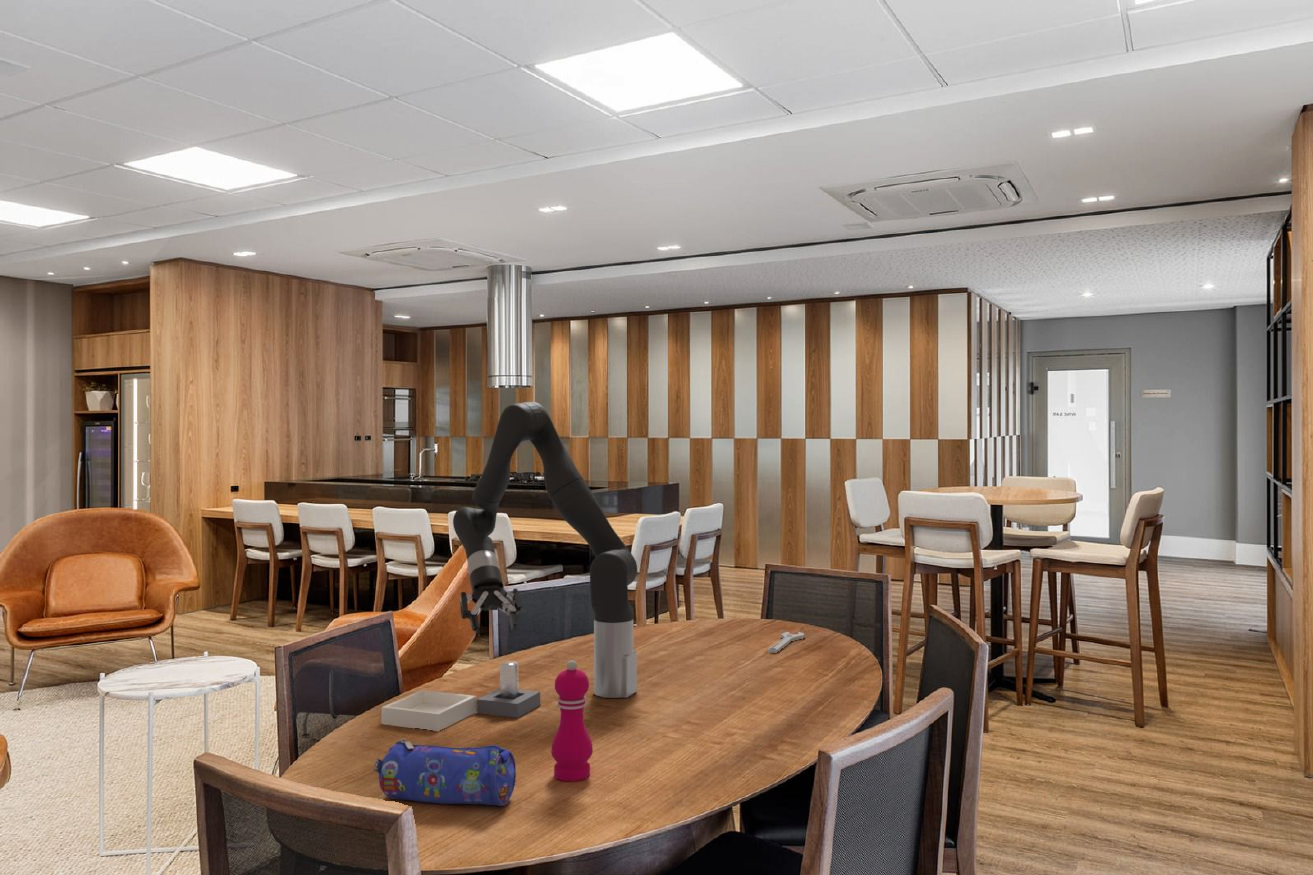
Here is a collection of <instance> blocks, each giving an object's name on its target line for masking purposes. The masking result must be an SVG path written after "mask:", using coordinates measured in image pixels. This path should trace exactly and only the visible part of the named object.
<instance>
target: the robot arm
mask: <svg viewBox="0 0 1313 875" xmlns="http://www.w3.org/2000/svg"><path fill="white" fill-rule="evenodd" d="M523 441H530V442H531V444H532V445H533V446H534V448H535V450H536V452H537V453H538V455H539V458H540V459H541V462H542V467H543V477H544V478H543V479H544V486H545V490H546V493H547V496H548V498H549V499H550V501H552V503H553V506H554V508H555V509H556V511H557V512H558V514H559V515H560V516H561V517H562V519H563V520H564V521H565V522H566V523H567V524H568V525H569V526H571V527H572V529H574V530H575V531H576V532H577V533H578V534H579V535H580V536H581V537H582V539H584V540H585V542H586V543H587V544H588V546H589V547H590V549H591V552H592V553H593V554H594V556H595V558H594V559H593V560H592V562H591V565H590V569H589V570H590V571H589V591H590V592H589V593H590V606H591V610H592V612H593V693H594V696H597V697H600V698H605V699H606V698H608V699H617V698H619V699H620V698H624V699H626V698H629V697H630V696H632V695H634V694H635V693H636V692H637V691H638V688H637V686H638V675H637V674H638V671H637V670H638V668H637V667H638V666H637V665H638V663H637V662H638V659H637V657H638V656H637V655H638V653H637V650H634V608H633V606H632V605H631V604H630V602H629V593H628V591H629V590H628V589H629V588H628V586H630V585H631V584H632V583H633V582H634V581H635V580H636V578H637V574H638V564H637V561H636V559H635V557H634V555H633V554H632V552H631V551H630V549H629V548H628V546H626V544H625V543H624V542H623V540H622V539H621V538H620V537H619V535H618V534H617V533H616V531H615V530H614V528H613V527H612V525H611V524H610V522H609V520H608V518H607V517H606V515H605V513H604V511H603V510H602V508H601V506H600V505H599V502H598V501H597V500H596V498H595V496H594V495H593V492H592V490H591V489H590V487H589V486H588V484H587V482H586V480H585V479H584V477H583V476H582V474H581V473H580V471H579V469H578V468H577V466H576V464H575V462H574V461H573V459H572V457H571V456H570V454H569V452H568V450H567V449H566V447H565V445H564V444H563V442H562V439H561V438H560V436H559V433H558V432H557V429H556V428H555V425H554V423H553V421H552V419H551V417H550V415H549V413H548V411H547V410H546V408H545V407H544V406H543V405H542V404H541V403H538V402H536V401H524V402H515V403H513V404H510V405H508V406H506V407H505V408H504V409H503V410H502V413H501V415H500V418H499V420H498V423H497V427H496V430H495V434H494V437H493V442H492V445H491V449H490V452H489V455H488V458H487V461H486V465H485V467H484V469H483V472H482V474H481V475H480V478H479V480H478V481H477V484H476V486H475V488H474V489H473V490H474V491H473V492H472V496H471V499H472V501H473V503H474V504H475V505H476V506H478V507H479V508H475V507H470V506H469V507H468V506H462V507H460V508H458V509H457V510H455V513H454V515H453V519H452V525H453V530H454V532H455V535H456V536H457V538H458V539H459V541H460V543H461V545H462V547H463V549H464V550H465V555H466V561H467V571H468V573H467V574H468V577H469V583H470V587H471V588H470V589H471V592H472V593H467V592H466V591H462V592H461V593H460V597H459V606H460V607H459V608H460V616H461V619H463V620H465V619H469V621H470V626H471V627H470V628H471V630H472V632H475V634H479V633H480V629H481V628H480V621H479V616H478V615H479V614H480V613H481V611H482V610H483V611H484V612H486V611H487V612H488V611H498V610H500V611H501V612H502V613H505V614H506V615H507V616H509V617H508V621H509V625H510V630H511V631H515V630H516V628H518V624H519V621H518V616H519V615H521V614H522V611H523V608H524V606H523V602H522V599H521V596H520V592H519V590H518V588H513V590H510V591H507V590H506V589H505V587H504V582H503V577H502V573H501V568H500V564H499V561H498V558H497V554H496V551H495V546H494V542H493V540H492V538H491V537H490V535H492V533H493V532H494V531H495V528H496V524H497V514H498V511H499V506H500V502H501V501H502V499H503V497H504V495H505V492H506V490H507V489H508V486H509V484H510V479H511V478H510V477H511V461H512V458H513V455H514V453H515V452H516V450H517V448H519V446H520V444H521V443H522V442H523ZM507 598H509V599H507ZM509 600H510V601H509ZM470 601H472V602H473V603H474V604H475V605H474V606H473V608H472V610H469V607H468V604H469V603H470ZM511 601H512V604H511ZM517 615H518V616H517Z"/></svg>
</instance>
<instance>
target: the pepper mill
mask: <svg viewBox="0 0 1313 875" xmlns="http://www.w3.org/2000/svg"><path fill="white" fill-rule="evenodd" d="M577 667H578V664H577V662H576V661H575V660H569V661H568V662H567V663H566V668H567V669H564V670H562V671H560V673H558V674H557V676H556V678H555V679H554V690H555V693H557V695H558V696H559V697H558V698H557V707H559V710H560V720H559V725H558V729H557V731H556V733H555V735H554V737H553V740H552V743H551V751H550V752H551V757H552V758H553V760H554V761H555V764H554V765H553V776H554V778H555V779H557V780H559V781H563V782H579V781H583V780H586V779H587V778H589V777H590V774H591V765H590V762H589V759H590V758H591V757H592V755H593V752H594V750H593V743H592V738H591V737H590V734H589V732H588V730H587V728H586V725H585V719H584V709H585V707H586V705H587V702H586V701H587V697H586V696H585V695H586V694H587V693H588V691H589V688H590V681H589V678H588V676H587V674H586V672H584V671H582V670H581V669H579V668H577Z"/></svg>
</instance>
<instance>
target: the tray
mask: <svg viewBox="0 0 1313 875" xmlns="http://www.w3.org/2000/svg"><path fill="white" fill-rule="evenodd" d="M476 713H477V695H472V694H462V693H454V692H453V693H452V692H451V693H450V692H443V691H436V690H435V691H434V690H425V689H421V690H419V691H416V692H414V693H411V694H409V695H407V696H405V697H402V698H400V699H397V700H396V701H395V700H394V701H393V702H390V703H388V704H386V705H384V706H381V725H386V726H393V727H400V728H401V727H402V728H409V729H415V728H420V729H419V730H422V729H427V730H426V731H430V730H433V731H432V732H438V733H439V732H440V730H441V731H442V729H443V730H444V728H445V729H447V728H449V727H450V726H452V725H454V724H457V723H458V722H460V721H462V720H464V719H466V718H469V717H470V716H472V715H474V714H476Z"/></svg>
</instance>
